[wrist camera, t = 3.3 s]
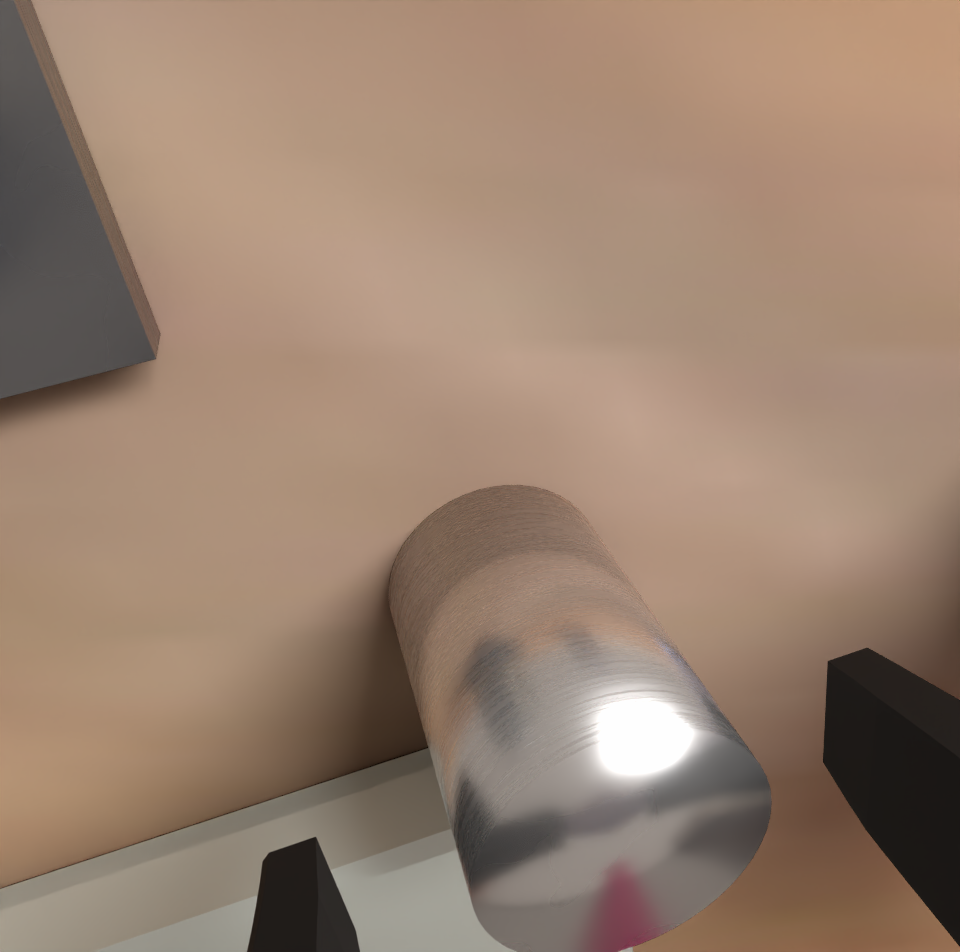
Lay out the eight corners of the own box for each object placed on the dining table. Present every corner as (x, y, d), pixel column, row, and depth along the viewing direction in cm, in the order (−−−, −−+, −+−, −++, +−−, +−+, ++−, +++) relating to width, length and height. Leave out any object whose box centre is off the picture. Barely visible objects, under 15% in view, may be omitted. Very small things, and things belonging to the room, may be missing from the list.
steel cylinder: (587, 458, 15) (771, 689, 10) (609, 630, 17) (771, 895, 12) (364, 522, 15) (440, 801, 10) (414, 692, 17) (499, 996, 12)
